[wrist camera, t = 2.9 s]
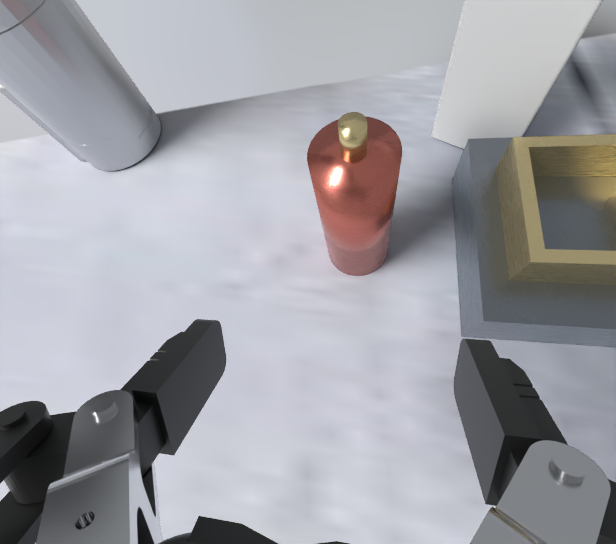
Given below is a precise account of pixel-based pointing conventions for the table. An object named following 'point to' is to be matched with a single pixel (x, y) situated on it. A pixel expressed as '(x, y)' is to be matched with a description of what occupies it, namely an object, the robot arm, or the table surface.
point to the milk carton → (506, 65)
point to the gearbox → (537, 239)
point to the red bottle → (356, 189)
